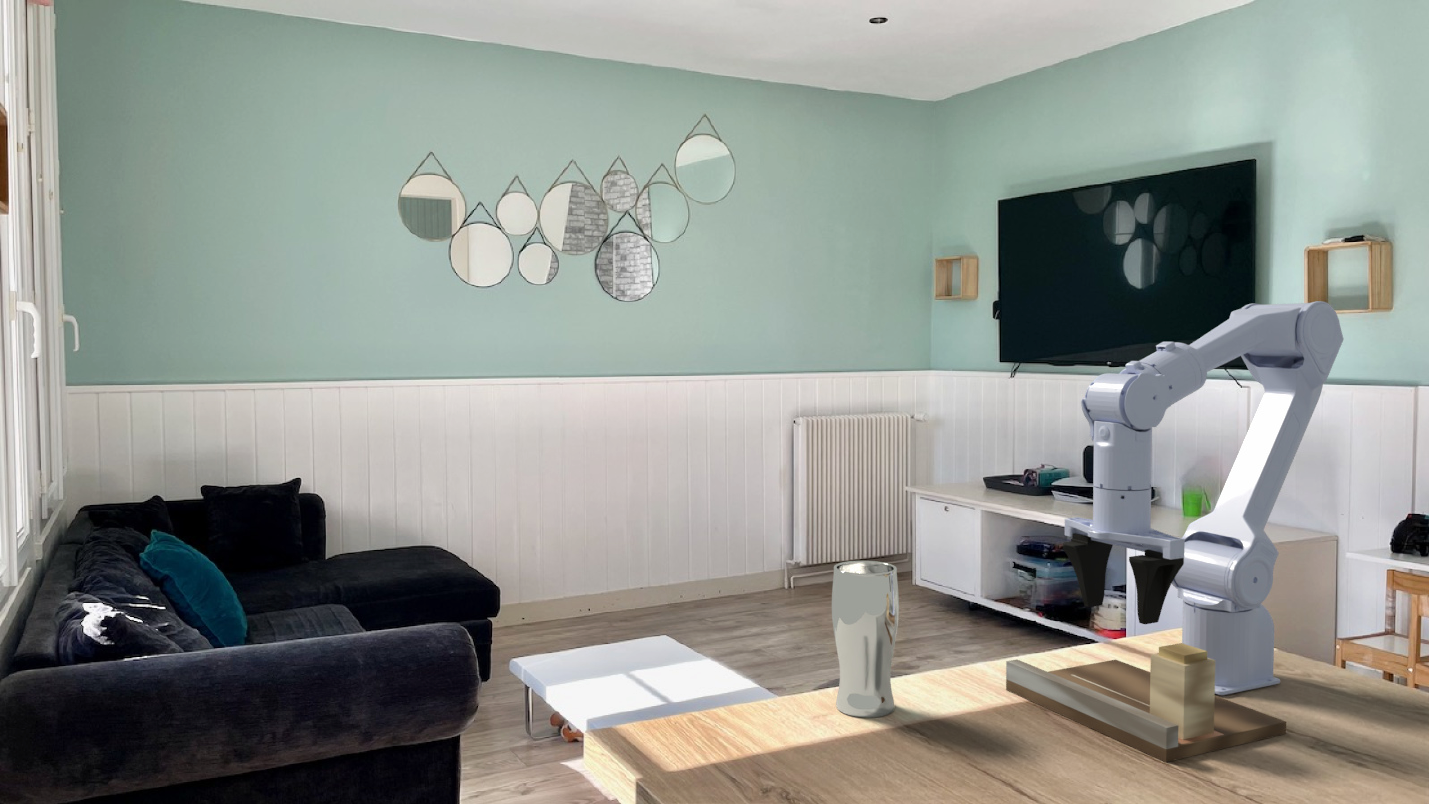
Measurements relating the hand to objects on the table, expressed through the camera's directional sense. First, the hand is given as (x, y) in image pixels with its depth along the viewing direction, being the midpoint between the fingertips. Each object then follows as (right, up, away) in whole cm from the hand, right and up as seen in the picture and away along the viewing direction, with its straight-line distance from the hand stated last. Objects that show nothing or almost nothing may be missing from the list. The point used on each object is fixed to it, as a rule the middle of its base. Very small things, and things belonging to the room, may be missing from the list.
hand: (1120, 613), depth 113 cm
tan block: (+2, -9, -11) cm, 14 cm away
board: (+1, -10, -3) cm, 10 cm away
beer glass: (-27, -10, -1) cm, 29 cm away
